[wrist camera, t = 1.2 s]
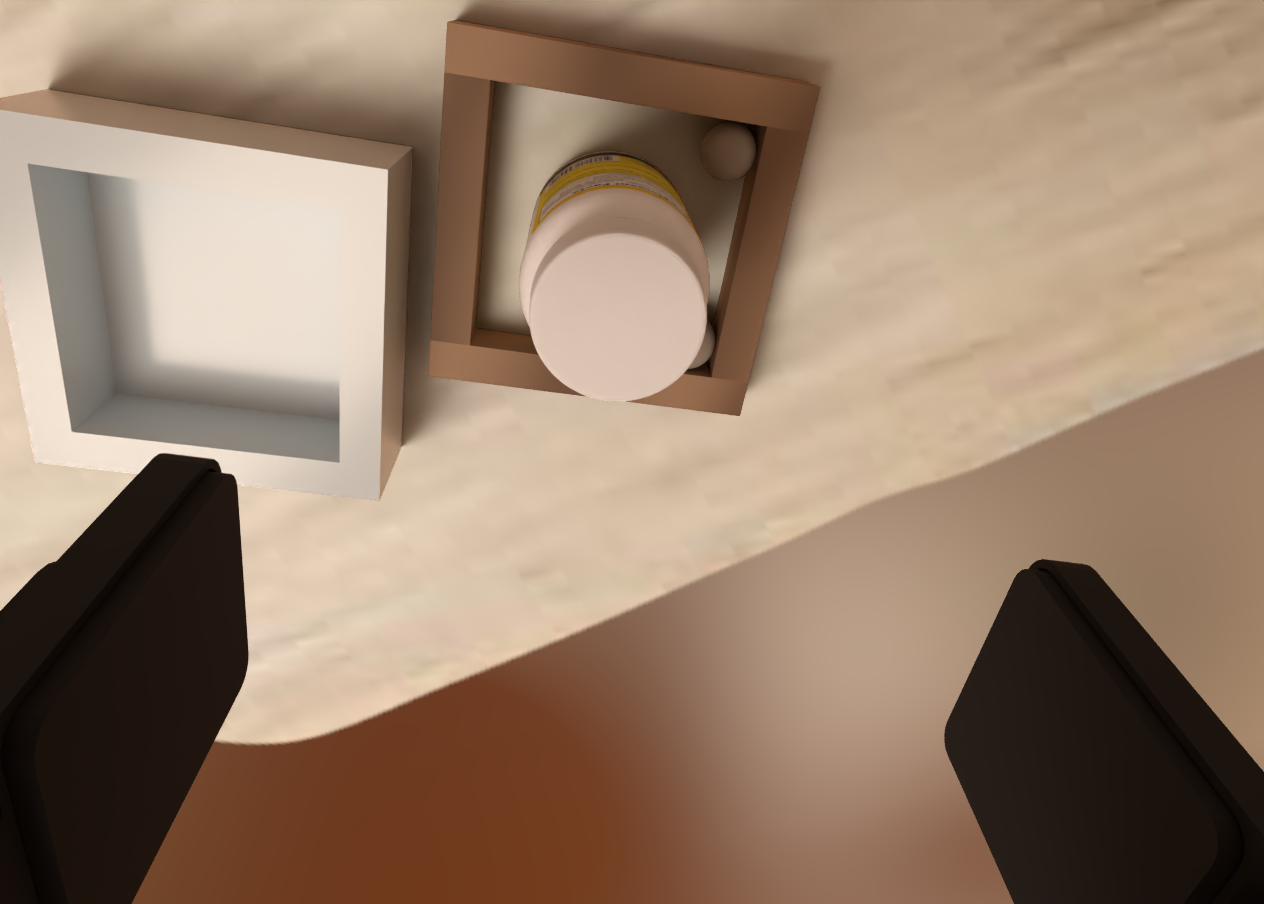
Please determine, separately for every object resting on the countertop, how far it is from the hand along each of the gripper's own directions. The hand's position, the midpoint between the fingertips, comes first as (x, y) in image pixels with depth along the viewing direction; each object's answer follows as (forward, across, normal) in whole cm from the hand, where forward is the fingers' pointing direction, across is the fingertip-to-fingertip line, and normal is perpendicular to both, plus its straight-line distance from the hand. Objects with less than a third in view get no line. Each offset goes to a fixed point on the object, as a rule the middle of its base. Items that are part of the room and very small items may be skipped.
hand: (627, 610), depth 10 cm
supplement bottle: (+18, 0, 0) cm, 18 cm away
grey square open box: (+18, +11, +4) cm, 21 cm away
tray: (+18, 0, 0) cm, 18 cm away
